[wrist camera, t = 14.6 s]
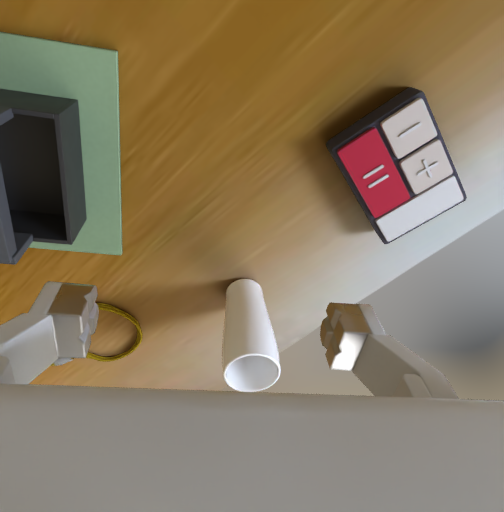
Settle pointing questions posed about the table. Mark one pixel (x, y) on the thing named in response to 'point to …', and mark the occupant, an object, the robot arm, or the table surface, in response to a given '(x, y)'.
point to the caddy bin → (39, 172)
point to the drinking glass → (248, 339)
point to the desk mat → (91, 123)
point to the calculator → (398, 165)
